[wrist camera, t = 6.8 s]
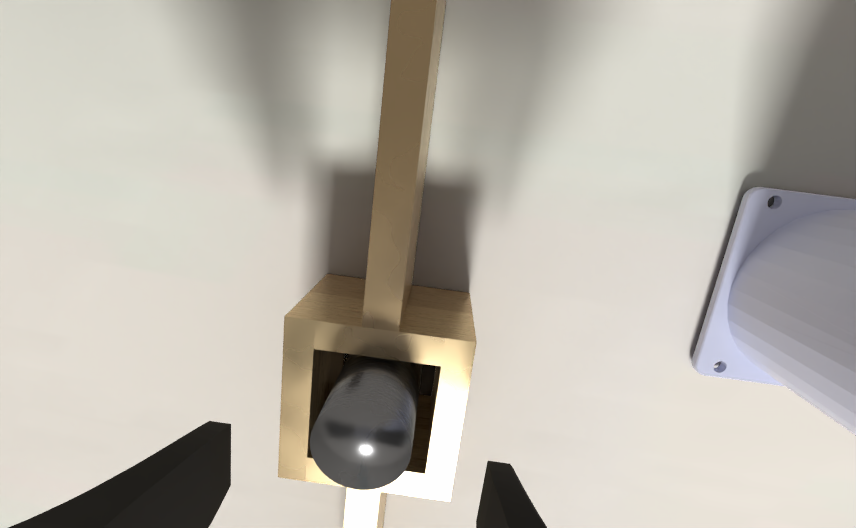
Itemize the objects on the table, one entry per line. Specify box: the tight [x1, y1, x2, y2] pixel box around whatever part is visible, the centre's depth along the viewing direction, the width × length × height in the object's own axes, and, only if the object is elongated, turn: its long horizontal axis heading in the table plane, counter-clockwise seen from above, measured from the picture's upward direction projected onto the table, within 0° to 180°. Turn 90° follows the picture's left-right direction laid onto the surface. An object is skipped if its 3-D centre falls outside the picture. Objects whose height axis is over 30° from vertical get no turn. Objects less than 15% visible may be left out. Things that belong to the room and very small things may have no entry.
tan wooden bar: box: [278, 0, 476, 528], centre depth 17 cm, size 6×28×5 cm, turn 173°
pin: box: [310, 354, 423, 490], centre depth 16 cm, size 3×3×7 cm
